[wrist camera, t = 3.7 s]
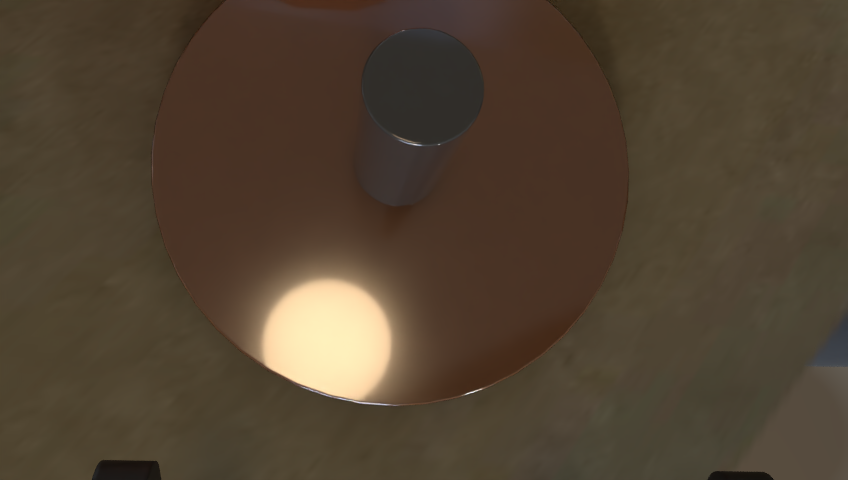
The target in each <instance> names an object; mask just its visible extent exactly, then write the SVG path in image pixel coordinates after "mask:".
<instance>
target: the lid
mask: <svg viewBox="0 0 848 480" xmlns="http://www.w3.org/2000/svg"><path fill="white" fill-rule="evenodd" d="M151 179H152V191H153V198H154V205H155V212H156V217H157V221H158V224H159V228H160V231H161V235H162V238H163V241H164V245H165V248H166V250H167V252H168V255H169V257H170V259H171V261H172V264H173V266H174V268H175V270H176V273H177V275H178V277H179V278H180V280H181V282H182V283H183V285H184V287H185V288H186V290H187V291H188V293H189V295H190V296H191V298H192V299H193V301H194V303H195V304H196V305H197V307H198V308H199V309H200V310H201V311H202V313H203V314H204V315H205V316H206V317H207V319H208V320H209V321H210V322H211V323H212V325H213V326H214V327H215V328H216V330H218V331H219V332H220V333H221V334H222V335H223V336H224V337H225V338H226V339H227V340H228V341H230V342H231V343H232V344H233V345H234V346H235V347H236V348H237V349H238V350H239V351H240V352H242V353H243V354H245V355H246V356H247V357H249V358H250V359H252V360H253V361H255V362H256V363H257V364H259V365H260V366H262V367H263V368H265V369H266V370H268V371H269V372H271V373H273V374H275V375H277V376H279V377H281V378H283V379H285V380H287V381H289V382H291V383H293V384H295V385H297V386H299V387H302V388H305V389H307V390H310V391H313V392H316V393H319V394H322V395H324V396H327V397H331V398H336V399H340V400H345V401H350V402H355V403H360V404H370V405H384V406H405V405H422V404H430V403H435V402H440V401H445V400H450V399H455V398H459V397H462V396H465V395H468V394H471V393H474V392H477V391H480V390H483V389H486V388H488V387H490V386H492V385H494V384H496V383H498V382H500V381H502V380H504V379H506V378H508V377H510V376H512V375H514V374H516V373H518V372H519V371H521V370H522V369H524V368H525V367H527V366H528V365H530V364H531V363H533V362H534V361H535V360H537V359H538V358H540V357H541V356H543V355H544V354H545V353H546V352H547V351H548V350H549V349H550V348H552V347H553V346H554V345H555V344H556V343H557V342H558V341H559V340H560V339H562V338H563V337H564V336H565V335H566V334H567V332H568V331H569V330H570V329H571V328H572V327H573V325H574V324H575V323H576V322H577V321H578V319H579V318H580V317H581V316H582V315H583V314H584V312H585V311H586V309H587V308H588V306H589V305H590V303H591V302H592V300H593V298H594V297H595V295H596V294H597V292H598V291H599V289H600V287H601V286H602V284H603V281H604V279H605V277H606V275H607V273H608V271H609V268H610V266H611V264H612V262H613V260H614V257H615V254H616V251H617V247H618V244H619V241H620V238H621V234H622V231H623V226H624V220H625V214H626V209H627V203H628V182H629V167H628V156H627V145H626V139H625V134H624V130H623V125H622V121H621V116H620V112H619V109H618V107H617V104H616V101H615V98H614V96H613V93H612V90H611V87H610V85H609V83H608V81H607V79H606V77H605V75H604V73H603V71H602V69H601V67H600V65H599V63H598V61H597V59H596V58H595V56H594V55H593V53H592V52H591V50H590V49H589V47H588V46H587V44H586V43H585V41H584V40H583V38H582V37H581V35H580V34H579V33H578V32H577V31H576V29H575V28H574V27H573V26H572V25H571V24H570V23H569V21H568V20H567V19H566V18H565V17H564V16H563V14H562V13H561V12H560V11H559V10H558V9H556V8H555V7H554V6H553V5H552V4H551V3H550V2H549V1H548V0H225V1H224V2H223V3H222V4H221V5H220V6H219V7H217V8H216V9H215V10H214V11H213V12H212V13H211V14H210V16H209V17H208V18H207V19H206V20H205V22H204V23H203V24H202V25H201V27H200V28H199V29H198V30H197V32H196V33H195V34H194V35H193V37H192V38H191V40H190V41H189V43H188V45H187V46H186V48H185V50H184V51H183V53H182V54H181V56H180V58H179V59H178V61H177V63H176V65H175V67H174V69H173V72H172V74H171V76H170V79H169V81H168V83H167V86H166V88H165V90H164V93H163V97H162V100H161V104H160V107H159V111H158V115H157V118H156V122H155V129H154V137H153V144H152V152H151Z"/></svg>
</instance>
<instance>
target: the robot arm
mask: <svg viewBox="0 0 848 480" xmlns="http://www.w3.org/2000/svg"><path fill="white" fill-rule="evenodd" d="M92 480H161V476H160V469H159V464H158V462H157V461H124V460H102V461H100V462H99V464H98V465H97V467H96V469H95V472H94V475H93V478H92ZM708 480H773V478H772V477H771V476H770V475H769V474H767V473H765V472H732V471H716V472H713V473H712V474H711V475H710V476H709V478H708Z"/></svg>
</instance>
